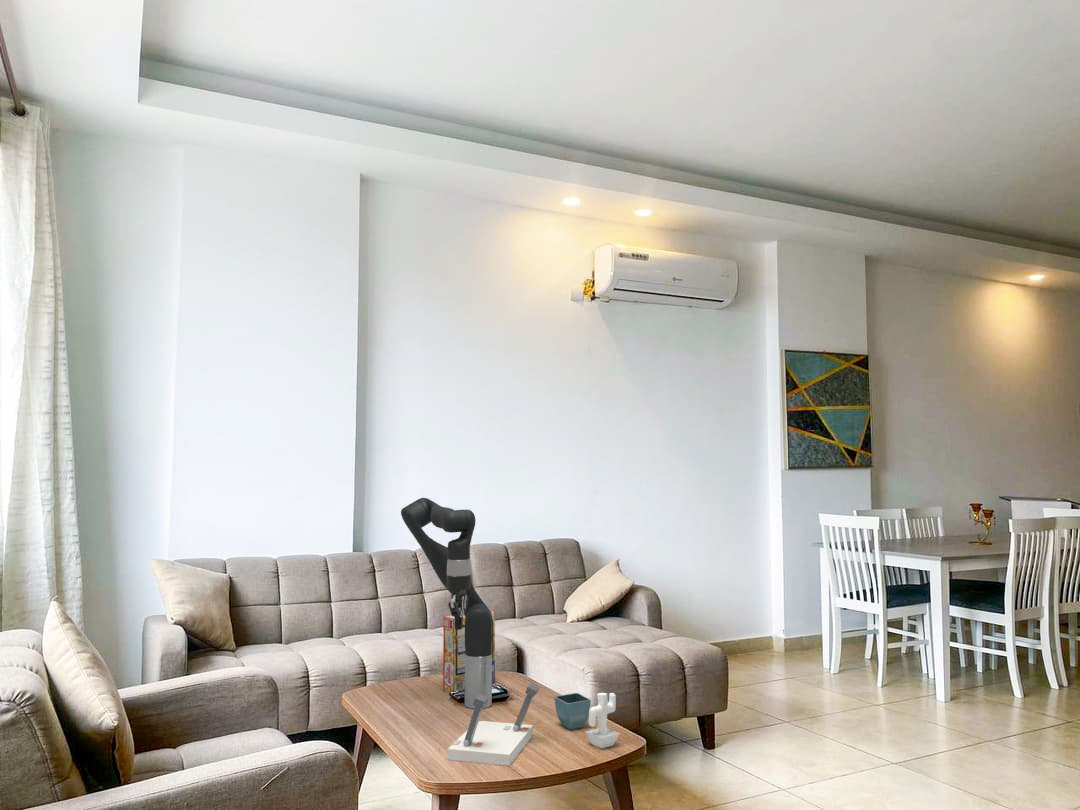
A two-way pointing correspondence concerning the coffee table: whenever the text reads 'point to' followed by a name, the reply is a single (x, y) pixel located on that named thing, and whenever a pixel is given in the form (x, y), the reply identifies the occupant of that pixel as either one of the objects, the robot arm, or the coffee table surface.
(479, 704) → the lever
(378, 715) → the coffee table surface
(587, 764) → the coffee table surface
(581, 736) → the coffee table surface
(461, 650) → the board game box
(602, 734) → the figurine
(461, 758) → the switch base
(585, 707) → the flower pot
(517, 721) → the lever
